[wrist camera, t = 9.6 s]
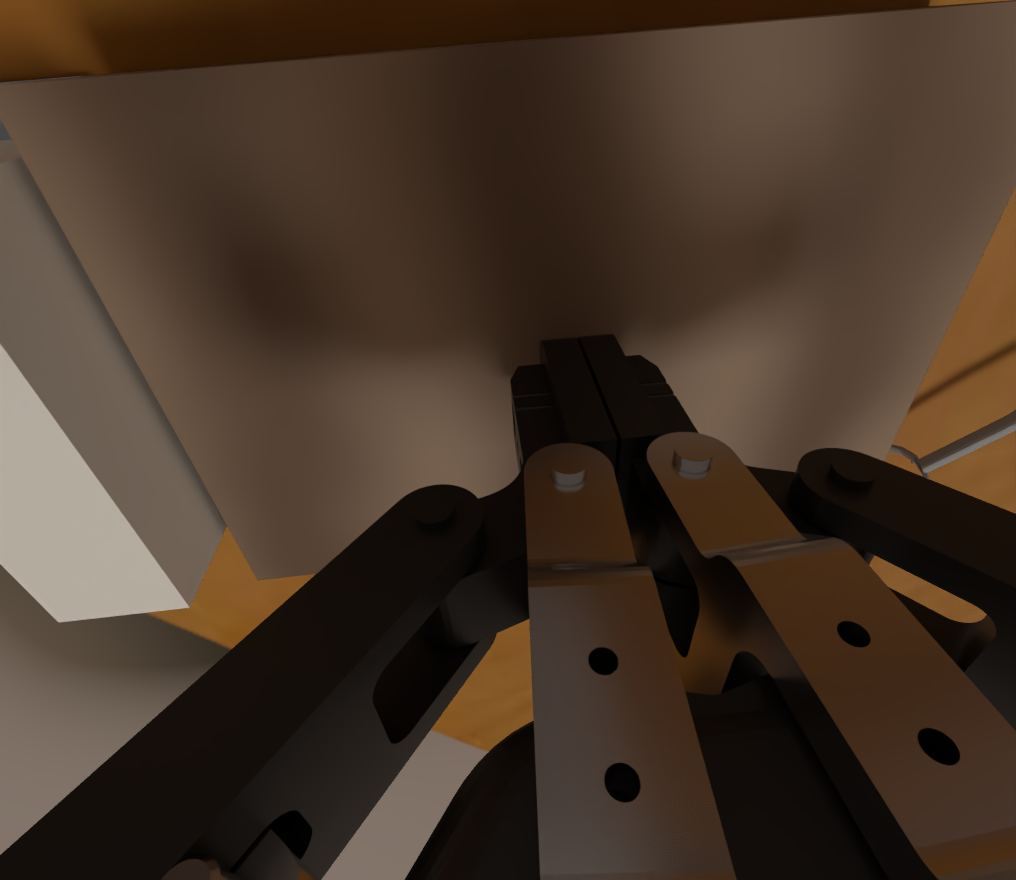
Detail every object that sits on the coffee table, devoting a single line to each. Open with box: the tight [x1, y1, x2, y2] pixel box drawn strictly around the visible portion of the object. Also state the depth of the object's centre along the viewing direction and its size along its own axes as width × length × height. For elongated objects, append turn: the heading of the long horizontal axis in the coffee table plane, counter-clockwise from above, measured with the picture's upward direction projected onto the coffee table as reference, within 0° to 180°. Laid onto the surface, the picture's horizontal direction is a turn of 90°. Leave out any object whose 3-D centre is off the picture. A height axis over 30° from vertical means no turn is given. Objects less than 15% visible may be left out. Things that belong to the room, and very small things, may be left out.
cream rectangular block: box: [0, 140, 227, 622], centre depth 12 cm, size 6×9×3 cm
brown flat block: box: [0, 0, 1016, 580], centre depth 14 cm, size 18×12×4 cm, turn 94°
